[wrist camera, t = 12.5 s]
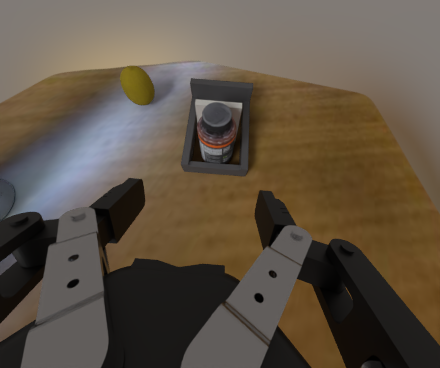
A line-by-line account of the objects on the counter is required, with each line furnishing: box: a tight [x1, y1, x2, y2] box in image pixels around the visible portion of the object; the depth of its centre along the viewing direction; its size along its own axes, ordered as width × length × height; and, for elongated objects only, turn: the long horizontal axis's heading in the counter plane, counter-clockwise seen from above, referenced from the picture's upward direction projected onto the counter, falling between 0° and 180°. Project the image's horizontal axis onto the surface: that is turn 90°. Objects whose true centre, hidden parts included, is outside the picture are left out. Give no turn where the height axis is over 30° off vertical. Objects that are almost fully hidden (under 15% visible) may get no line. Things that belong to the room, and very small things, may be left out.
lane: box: [181, 78, 253, 176], centre depth 32 cm, size 11×16×6 cm
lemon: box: [120, 66, 155, 105], centre depth 33 cm, size 6×6×8 cm
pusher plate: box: [195, 99, 242, 140], centre depth 31 cm, size 7×11×9 cm, turn 175°
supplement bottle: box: [197, 102, 237, 164], centre depth 28 cm, size 6×6×11 cm
